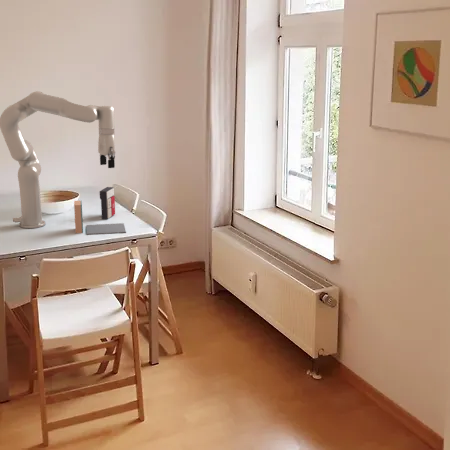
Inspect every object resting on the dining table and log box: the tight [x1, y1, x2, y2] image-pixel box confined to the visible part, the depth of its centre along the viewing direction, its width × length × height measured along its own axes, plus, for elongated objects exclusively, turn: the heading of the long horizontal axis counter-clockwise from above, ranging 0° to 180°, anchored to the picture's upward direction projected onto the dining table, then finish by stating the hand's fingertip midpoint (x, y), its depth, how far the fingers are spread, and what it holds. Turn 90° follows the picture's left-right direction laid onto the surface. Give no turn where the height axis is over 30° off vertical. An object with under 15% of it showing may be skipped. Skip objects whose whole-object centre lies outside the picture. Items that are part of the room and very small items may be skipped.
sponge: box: [73, 200, 84, 234], centre depth 315 cm, size 4×9×14 cm, turn 12°
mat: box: [86, 222, 127, 236], centre depth 319 cm, size 18×16×1 cm
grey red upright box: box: [99, 186, 116, 220], centre depth 340 cm, size 11×4×15 cm, turn 168°
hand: (107, 166), depth 322 cm, fingers open, 9 cm apart
